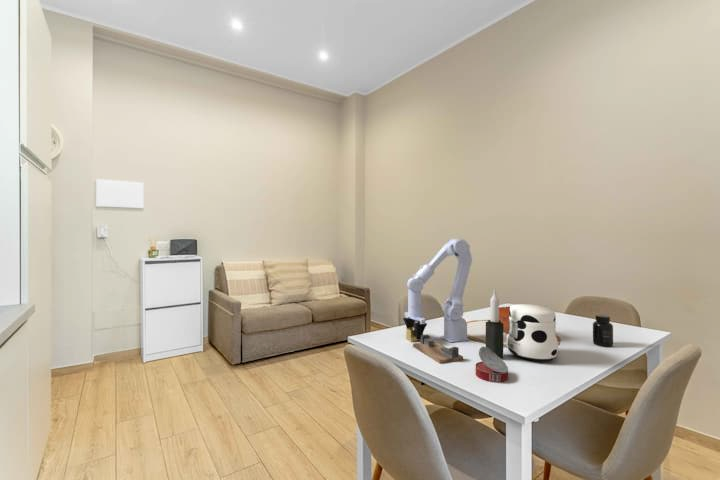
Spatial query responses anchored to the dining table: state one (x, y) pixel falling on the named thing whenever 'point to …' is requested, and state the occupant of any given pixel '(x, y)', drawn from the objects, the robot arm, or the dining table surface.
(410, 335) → the block
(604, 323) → the supplement bottle
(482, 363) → the canned food
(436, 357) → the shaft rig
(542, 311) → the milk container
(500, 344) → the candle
